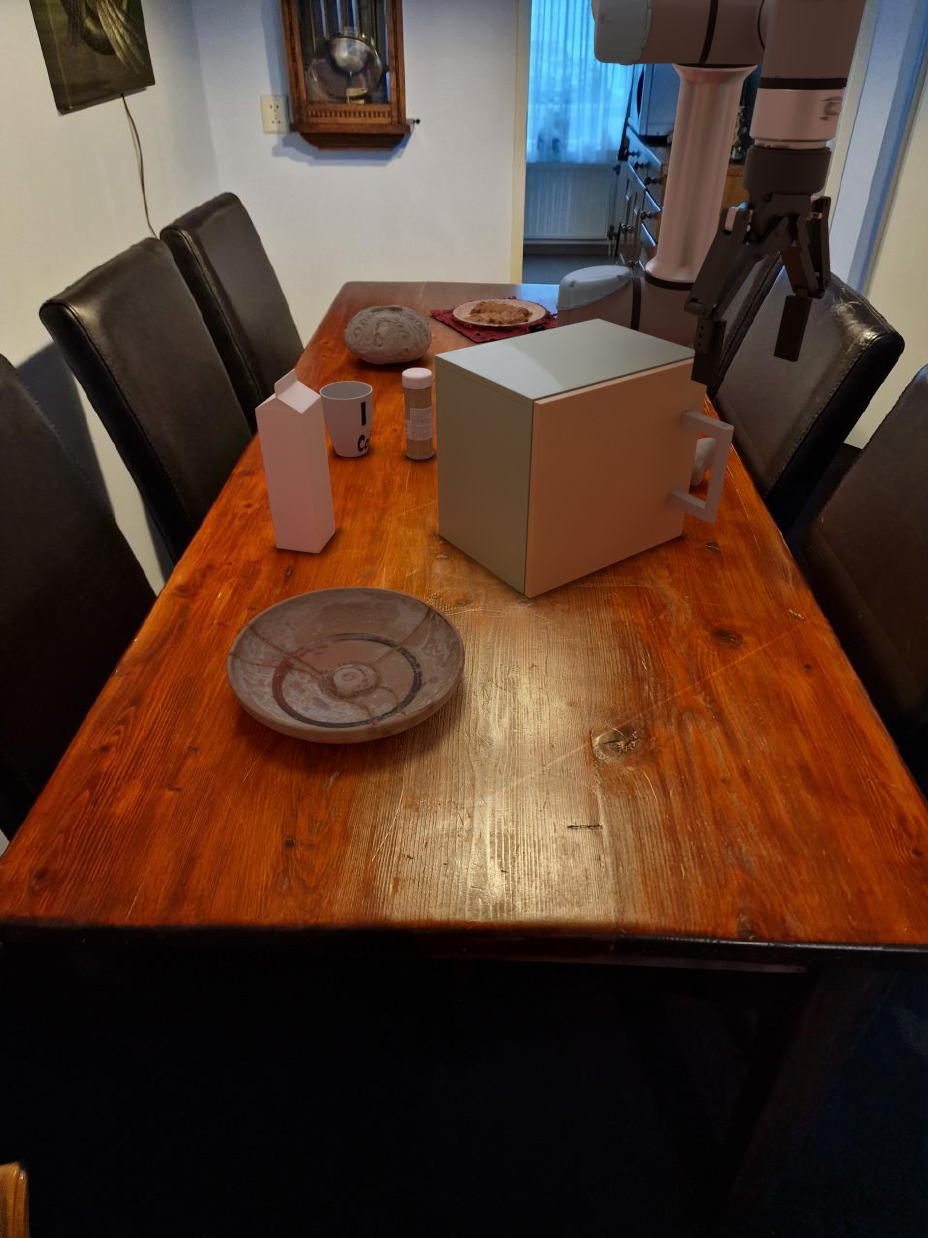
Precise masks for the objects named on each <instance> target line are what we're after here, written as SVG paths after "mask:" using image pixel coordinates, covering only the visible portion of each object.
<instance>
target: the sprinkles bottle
mask: <svg viewBox="0 0 928 1238" xmlns="http://www.w3.org/2000/svg"><path fill="white" fill-rule="evenodd" d="M433 379H434V378H433V372H432V371H431V370H430V369H428V368H424V367H411V368H407V369H405V370H403V371H402V373H401V383H402V386H403V400H404V408H403V409H404V413H403V414H404V430H405V432H404V434H405V449H406V450H405V455H406V457H407V458H409V459H411V460H417V461H418V460H419V461H420V460H422V461H423V460H427V459H431V458H432V457H433V456H434V454H435V452H434V451H435V450H434V442H433V441H434V440H433V438H434V419H433V418H434V416H433V394H432V393H433V392H432V391H433V389H432V388H433V383H434V380H433Z"/></svg>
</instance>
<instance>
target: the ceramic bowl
mask: <svg viewBox="0 0 928 1238" xmlns="http://www.w3.org/2000/svg"><path fill="white" fill-rule="evenodd" d="M465 663H466V651H465V646H464V642H463V638H462V636H461V633H460V632H459V630H458V628H457V627H456V625H455V624H454V623H453V621H452V620H451V619H450V617H448V616H447V615H446V614H445V613H443V612H442V611H441V610H439V609H438V608H437V607H435V606H433V605H432V604H430V603H429V602H427V601H425V600H423V599H421V598H418V597H417V596H414V595H411V594H408V593H405V592H401V591H398V590H393V589H389V588H382V587H375V586H352V585H351V586H338V587H328V588H321V589H316V590H312V591H307V592H303V593H300V594H297V595H294V596H291V597H288V598H285V599H283V600H281V601H279V602H276V603H274V604H271V606H269V607H267V608H265V609H263V610H262V611H261V612H259V613H258V614H256V615H255V616H254V617H253V618H252V619H250V620H249V621H248V622H247V623H246V624H245V625H244V627H243V628H241V630H240V631H239V632H238V634H237V635H236V637H235V639H234V640H233V642H232V644H231V646H230V648H229V651H228V654H227V659H226V675H227V682H228V684H229V687H230V689H231V692H232V694H233V695H234V698H235V699H236V701H237V702H238V703H239V705H240V706H241V707H242V709H244V711H245V712H246V713H248V714H249V715H250V717H252V718H254V719H255V720H256V721H258V722H259V723H261V724H262V725H264V726H266V727H267V728H268V729H271V730H273V731H275V732H278V733H280V734H282V735H285V736H288V737H290V738H295V739H299V740H303V741H308V742H312V743H322V744H356V743H364V742H368V741H369V742H370V741H373V740H378V739H383V738H386V737H391V736H393V735H397V734H401V733H402V732H404V731H407V730H409V729H412V728H413V727H415V726H418V725H420V724H421V723H423V722H424V721H426V720H427V719H429V718H430V717H432V716H433V715H435V714H436V713H437V712H438V711H439V710H440V709H441V708H442V707H443V706H444V705H445V704H446V703H448V701H449V700H450V699H451V697H452V696H453V694H454V693H455V692H456V690H457V688H458V687H459V684H460V682H461V680H462V676H463V673H464V669H465V665H466V664H465Z"/></svg>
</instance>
